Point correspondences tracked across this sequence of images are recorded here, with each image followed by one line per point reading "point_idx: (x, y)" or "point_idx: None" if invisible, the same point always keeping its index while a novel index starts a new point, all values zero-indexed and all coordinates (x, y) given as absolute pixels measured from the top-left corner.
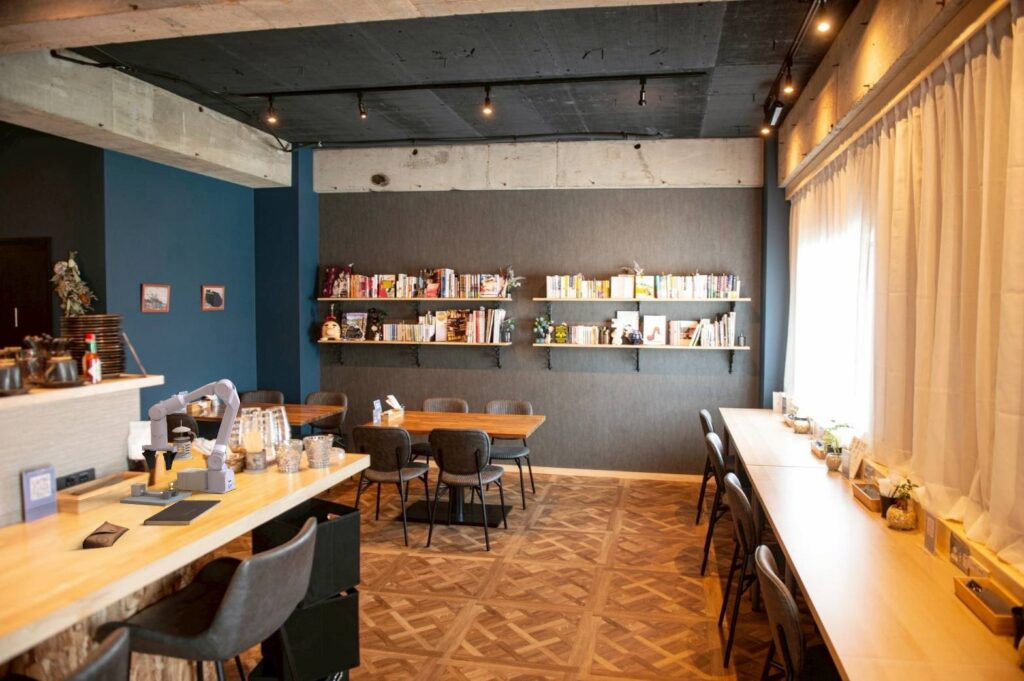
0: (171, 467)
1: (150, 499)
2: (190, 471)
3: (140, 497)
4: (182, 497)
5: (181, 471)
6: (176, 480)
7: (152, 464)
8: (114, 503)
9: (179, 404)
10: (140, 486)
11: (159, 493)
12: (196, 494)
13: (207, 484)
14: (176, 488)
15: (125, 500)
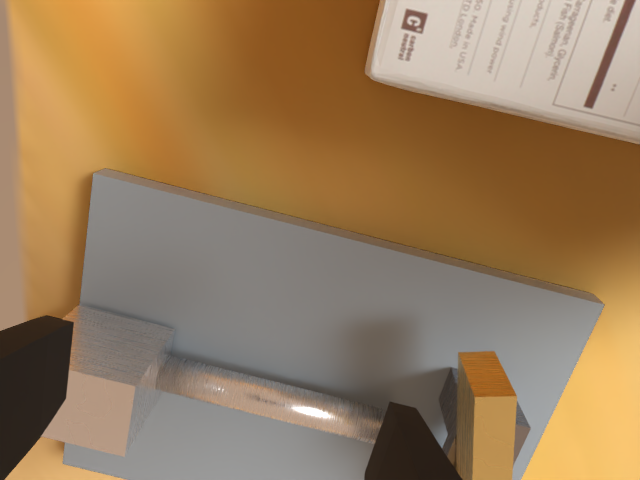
0: (427, 428)
1: (306, 471)
2: (615, 57)
3: (187, 415)
4: (550, 407)
5: (443, 46)
6: (513, 433)
7: (16, 406)
8: (46, 463)
9: None
10: (130, 440)
11: (350, 437)
12: (632, 261)
13: None
14: (514, 442)
15: (115, 475)
